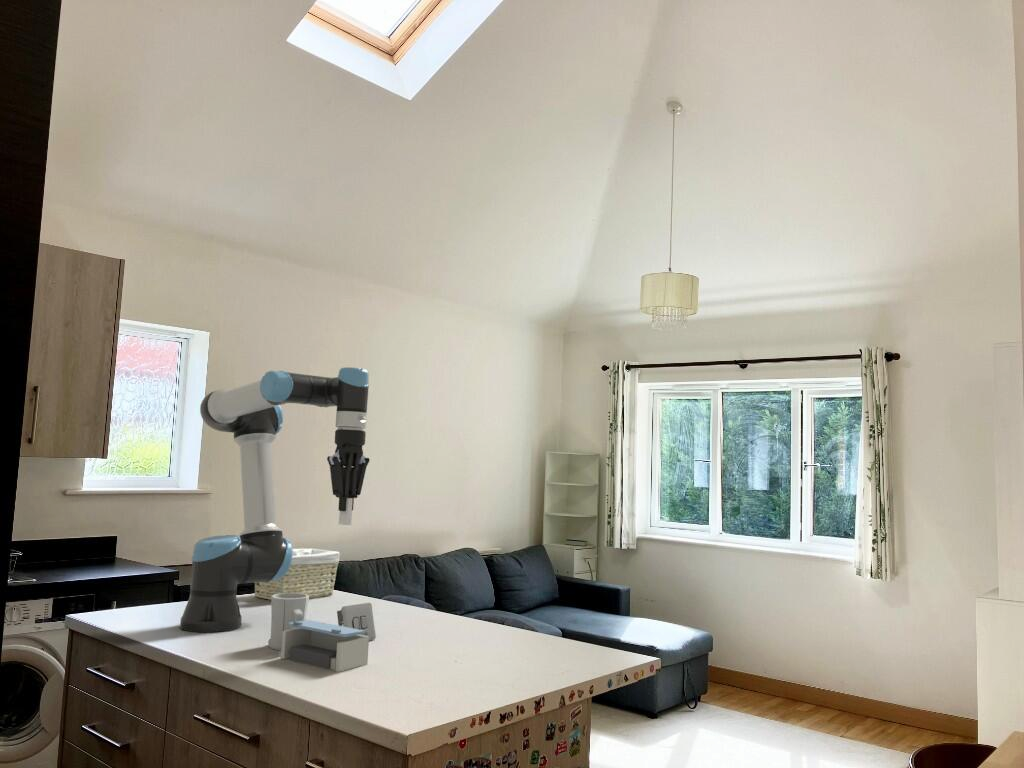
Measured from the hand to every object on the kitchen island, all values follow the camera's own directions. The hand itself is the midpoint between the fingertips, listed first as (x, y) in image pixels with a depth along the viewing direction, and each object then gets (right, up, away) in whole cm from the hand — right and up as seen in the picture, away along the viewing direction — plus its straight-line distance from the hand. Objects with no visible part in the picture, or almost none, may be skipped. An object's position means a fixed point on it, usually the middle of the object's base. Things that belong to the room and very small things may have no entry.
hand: (344, 524), depth 198 cm
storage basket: (-30, -35, +64) cm, 78 cm away
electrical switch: (+2, -30, +3) cm, 31 cm away
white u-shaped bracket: (-1, -28, -17) cm, 33 cm away
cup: (-12, -29, -5) cm, 32 cm away
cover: (-1, -21, -17) cm, 27 cm away
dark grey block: (-3, -28, -19) cm, 34 cm away
